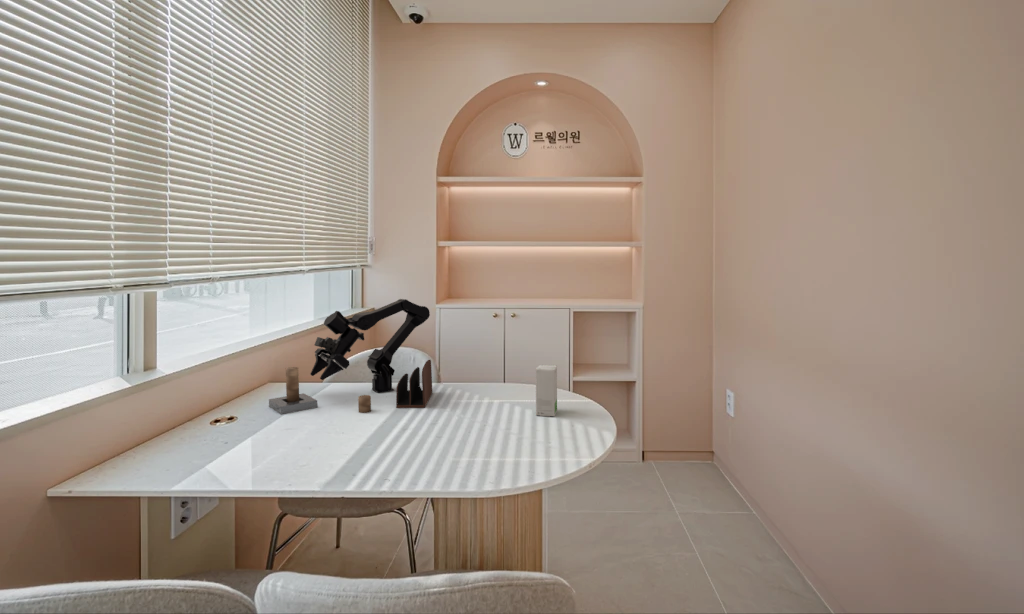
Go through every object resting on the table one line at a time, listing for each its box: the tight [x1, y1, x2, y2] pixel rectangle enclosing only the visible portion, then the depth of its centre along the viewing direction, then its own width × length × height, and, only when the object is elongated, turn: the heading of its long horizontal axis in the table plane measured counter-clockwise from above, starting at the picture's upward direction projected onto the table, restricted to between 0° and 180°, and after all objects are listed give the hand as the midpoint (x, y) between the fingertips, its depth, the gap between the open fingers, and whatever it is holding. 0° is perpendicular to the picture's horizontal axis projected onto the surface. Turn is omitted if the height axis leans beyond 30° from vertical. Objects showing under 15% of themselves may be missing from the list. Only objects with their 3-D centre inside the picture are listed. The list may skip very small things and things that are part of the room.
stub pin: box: [357, 394, 372, 414], centre depth 175 cm, size 4×4×5 cm
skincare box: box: [535, 364, 558, 417], centre depth 174 cm, size 8×7×16 cm
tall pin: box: [285, 366, 300, 403], centre depth 179 cm, size 4×4×14 cm
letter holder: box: [395, 359, 433, 409], centre depth 188 cm, size 10×20×14 cm, turn 1°
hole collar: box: [268, 392, 318, 415], centre depth 179 cm, size 12×12×2 cm
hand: (316, 377), depth 184 cm, fingers open, 9 cm apart
